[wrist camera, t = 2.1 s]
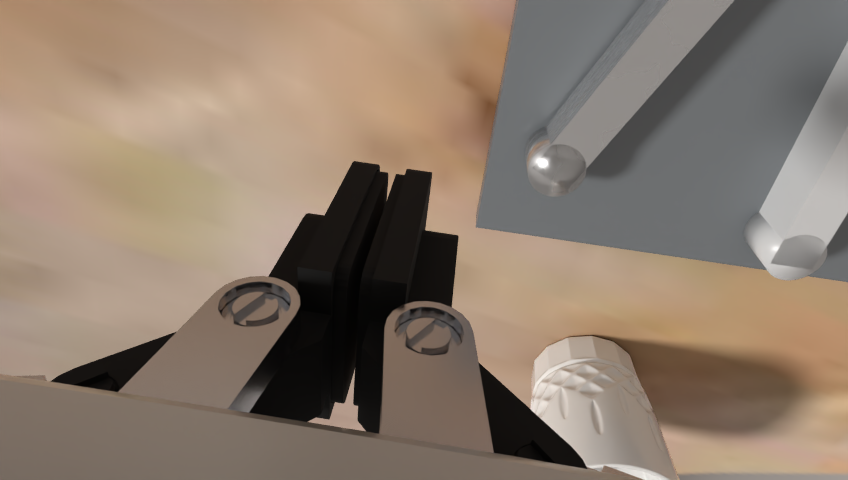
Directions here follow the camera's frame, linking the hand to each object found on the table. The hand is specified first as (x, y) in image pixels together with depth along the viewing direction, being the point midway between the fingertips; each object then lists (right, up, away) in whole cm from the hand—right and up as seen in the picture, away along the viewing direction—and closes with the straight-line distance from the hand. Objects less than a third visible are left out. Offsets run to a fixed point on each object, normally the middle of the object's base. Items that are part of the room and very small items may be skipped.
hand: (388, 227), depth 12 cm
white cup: (+11, -9, +25) cm, 29 cm away
